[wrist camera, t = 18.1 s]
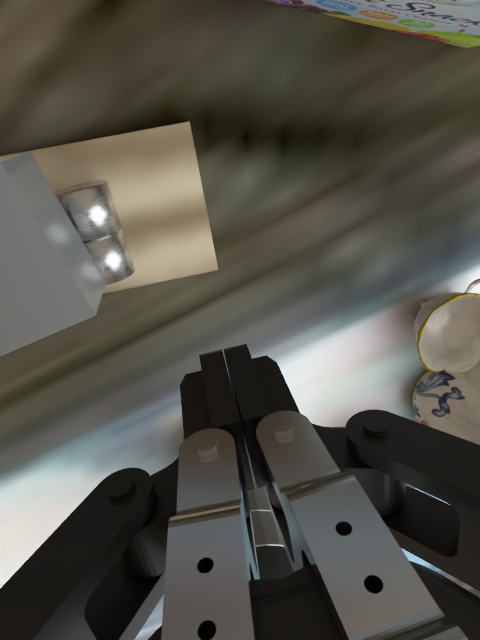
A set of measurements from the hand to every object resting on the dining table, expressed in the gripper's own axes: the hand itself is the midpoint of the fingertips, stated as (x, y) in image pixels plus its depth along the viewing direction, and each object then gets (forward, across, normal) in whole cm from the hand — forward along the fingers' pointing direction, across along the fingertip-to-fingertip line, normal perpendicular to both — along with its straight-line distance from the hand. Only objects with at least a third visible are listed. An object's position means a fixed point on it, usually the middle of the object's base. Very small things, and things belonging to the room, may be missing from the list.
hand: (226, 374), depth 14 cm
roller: (+21, +7, 0) cm, 22 cm away
